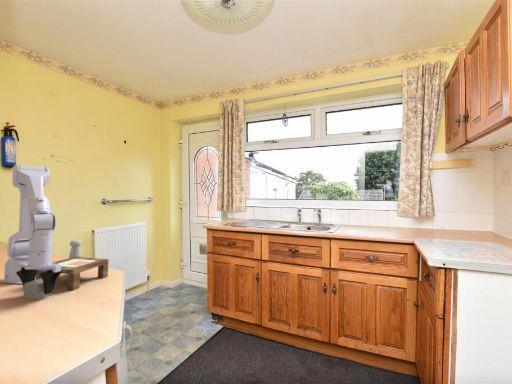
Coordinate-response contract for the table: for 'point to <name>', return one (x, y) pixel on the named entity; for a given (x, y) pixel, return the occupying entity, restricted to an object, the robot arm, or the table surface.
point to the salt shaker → (75, 248)
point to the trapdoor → (75, 263)
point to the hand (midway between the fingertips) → (38, 292)
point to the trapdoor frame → (75, 272)
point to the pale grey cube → (35, 290)
